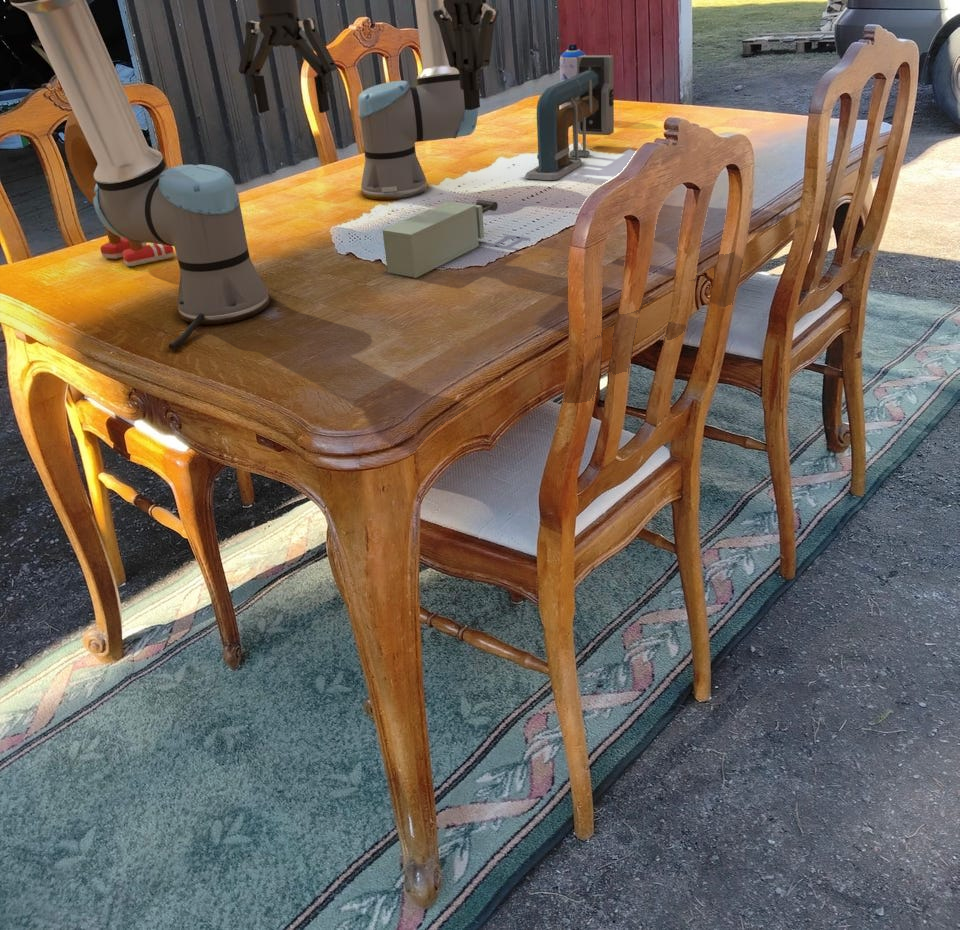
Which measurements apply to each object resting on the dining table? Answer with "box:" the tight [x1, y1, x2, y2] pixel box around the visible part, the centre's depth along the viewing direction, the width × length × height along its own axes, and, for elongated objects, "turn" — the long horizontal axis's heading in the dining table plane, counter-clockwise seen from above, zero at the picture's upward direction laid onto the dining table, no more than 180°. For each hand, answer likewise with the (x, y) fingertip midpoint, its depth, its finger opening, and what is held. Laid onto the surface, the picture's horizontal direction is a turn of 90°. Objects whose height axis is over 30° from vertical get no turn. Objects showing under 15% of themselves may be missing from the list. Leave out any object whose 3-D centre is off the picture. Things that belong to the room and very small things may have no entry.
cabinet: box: [382, 201, 480, 279], centre depth 179 cm, size 19×7×8 cm, turn 144°
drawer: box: [461, 199, 499, 240], centre depth 183 cm, size 24×6×6 cm, turn 144°
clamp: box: [524, 54, 615, 181], centre depth 231 cm, size 35×9×21 cm, turn 151°
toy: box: [64, 110, 175, 267], centre depth 188 cm, size 21×10×30 cm, turn 47°
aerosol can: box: [559, 43, 586, 109], centre depth 273 cm, size 8×8×20 cm
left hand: (294, 111), depth 189 cm, fingers open, 13 cm apart
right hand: (472, 108), depth 179 cm, fingers closed
